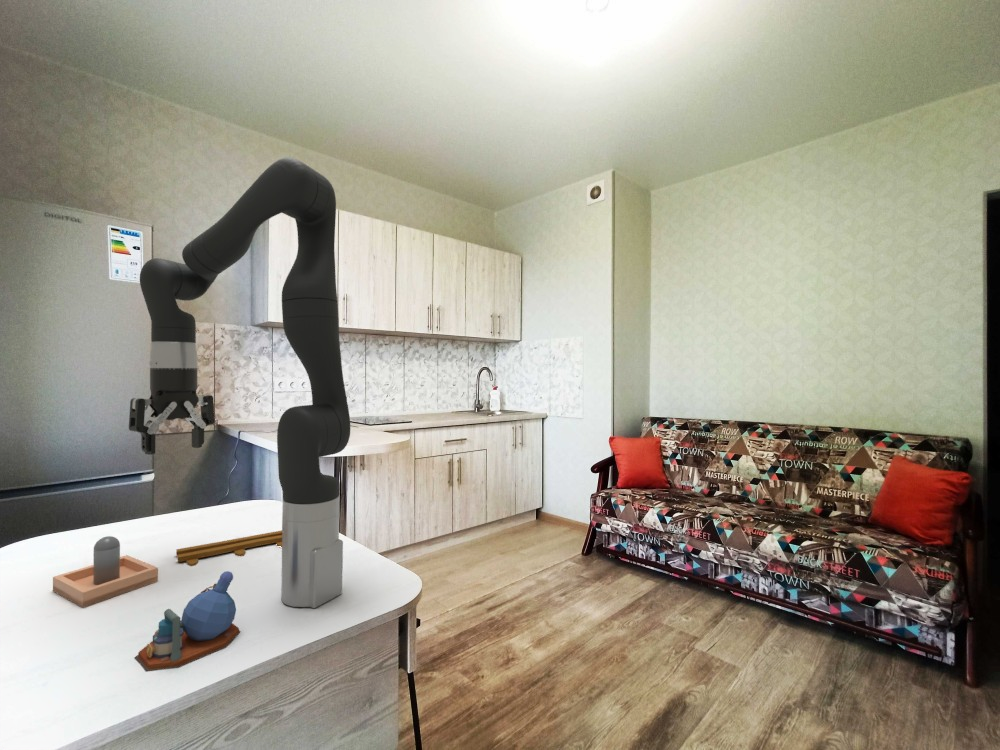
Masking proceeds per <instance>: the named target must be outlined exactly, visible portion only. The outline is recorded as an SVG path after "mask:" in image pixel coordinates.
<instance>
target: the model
mask: <svg viewBox="0 0 1000 750" xmlns="http://www.w3.org/2000/svg"><path fill="white" fill-rule="evenodd" d="M233 580H234V574H233V573H232V571H229V570H227V571H224V572H222V573H221V575H220V577H219V579H218V580H217V583H214V584H213V585H212V586H209V587H206V588H205V589H204V590H202V591H200V593H198V594H197V595H195V596H194V597H193V598H191V599H190V600H189V602H188V603H187V605H186V606H185V607H184V609H183V611H182V616H181V617H180V616H179V615H178V614H176V612H174V611H173V610H172V609H171V608H168V609H166V610H164V612H163V615H164V619H162V620H160V621H158V629H157V630H156V631H154V634H153V635H152V641H150V642H149V643H147V645H145V646H144V647H143V648H142V649H140V650H139V651H138V653H137V655H136V656H134V657H133V658H134V660H135V661H136V662H137V663H138V664H139V665H140V666H141V667H142V668H143V670H144V671H145V672H153V671H162V670H171V669H179V668H181V667H184V666H187V665H188V664H191V663H193V662H195V661H198V660H200V659H203V658H205V657H207V656H210V655H211V654H212V655H213V654H215V653H216V652H217V653H218V652H219V651H222V650H224V649H226V648H228V646H229V645H230V644H232V642H233V641H235V639H236V638H237V637H238V636H239V635H240V634H241V630H240V629H239V627H238V626H237V625H235V624H234V620H235V617H236V612H237V607H236V603H235V600H234V599H233V598H232V596H231V595H230V594H229V592H227V591H228V589H229V587H230V585H231V583H232V581H233Z"/></svg>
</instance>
